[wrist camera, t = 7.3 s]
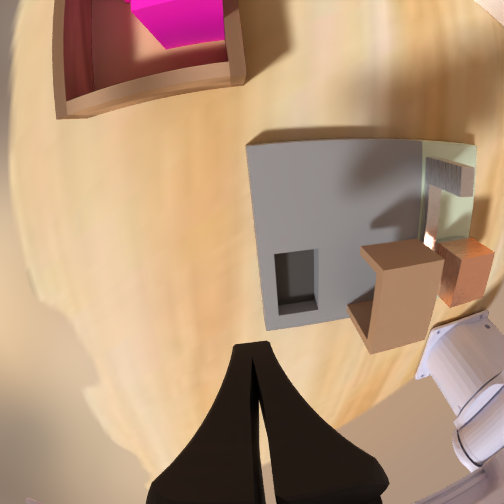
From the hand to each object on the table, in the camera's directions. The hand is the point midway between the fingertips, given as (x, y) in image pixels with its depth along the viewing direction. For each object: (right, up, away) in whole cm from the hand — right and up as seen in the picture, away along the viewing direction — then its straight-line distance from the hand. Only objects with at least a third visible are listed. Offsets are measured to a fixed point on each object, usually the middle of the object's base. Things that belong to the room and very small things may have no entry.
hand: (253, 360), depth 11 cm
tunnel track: (+9, +6, +9) cm, 14 cm away
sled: (+14, +6, +8) cm, 17 cm away
